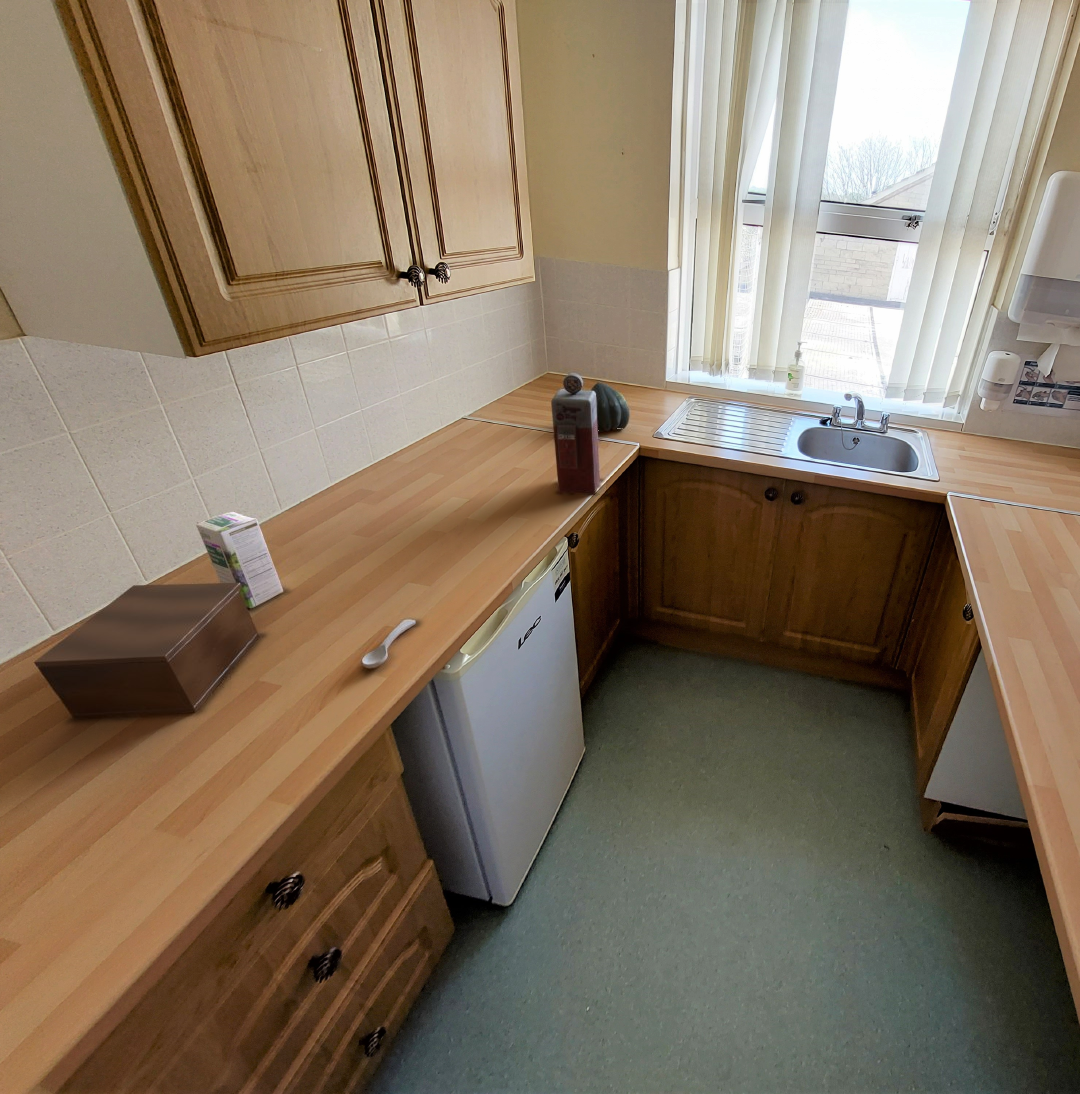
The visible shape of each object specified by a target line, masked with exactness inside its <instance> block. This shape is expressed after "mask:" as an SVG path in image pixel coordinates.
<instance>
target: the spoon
mask: <svg viewBox="0 0 1080 1094" xmlns="http://www.w3.org/2000/svg"><path fill="white" fill-rule="evenodd" d="M415 625H416V620H415V619H409V618H408V619H403V620H402V621H401V622H400V623H399V624H398V625H397V626H396V627H395V628H393V630H392V631H391V632H390V633H389V634H388V635H387V636H386V637H385V638H384V640H383V641H382V643H380V645H379V646H378V647H376V649H374V650H372V651H369V652H368V653H366V654H365V656H364V657H362V660H361V665H362V666H363V667H364V668H366V669H376V668H377V667H380V666H381V665H383V664H384V663H385V662H386V660H387V659H388V648H389V647H390V646H391V644H392V643H393V642H394V641H395V640H396V639H397V638H398V637H399V636H400V635H401V634H402V633H404V632H406V631H407V630H408V629H410V628H412V627H413V626H415Z"/></svg>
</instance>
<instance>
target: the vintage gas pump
mask: <svg viewBox="0 0 1080 1094" xmlns="http://www.w3.org/2000/svg"><path fill="white" fill-rule="evenodd" d="M562 382H563V383H562V385H563V388H559V389H558V390H557V391H556V392H555V394H554V396H553V397H552V399H551V400H550V405H551V417H552V429H553V430H552V431H553V442H554V452H555V464H556V475H557V476H556V477H557V488H558V493H559V494H582V495H585V494H586V495H596V494H597V490H598V487H599V484H600V481H601V480H600V455H599V435H598V434H599V432H598V430H597V407H596V393H595V392H594V391H590V390H591V389H589V390H587V389H582V388H583V387H584V380H583V378H582V377H581V375H580V374H578V373H577V372H576V373H575V372H570V373H568V374H567V375H566V376H565V377H564V379H563V381H562Z"/></svg>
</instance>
